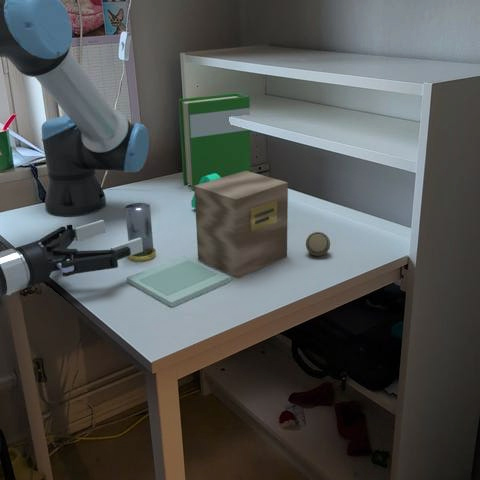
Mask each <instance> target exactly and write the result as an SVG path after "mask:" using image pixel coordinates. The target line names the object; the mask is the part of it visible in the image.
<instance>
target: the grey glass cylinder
mask: <svg viewBox="0 0 480 480" xmlns="http://www.w3.org/2000/svg"><path fill="white" fill-rule="evenodd" d="M124 212H125V213H124V214H125V221H126V231H127V242H128V241H131V240H133V239H136V238H139V237H140V238H142V246H143V252H140V253H137V254H134V255H131V256H128V257H127V258H128V260H130V261H131V262H135V263H142V262H143V263H144V262H148V261H151V260H153V259H155V258H156V257H157V251H156V249H155V247H154V239H153V228H152V225H153V224H152V215H151V205H150V204H149V203H147V202H133V203H130V204H127V205H125V208H124Z"/></svg>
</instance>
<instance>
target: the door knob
mask: <svg viewBox="0 0 480 480" xmlns="http://www.w3.org/2000/svg"><path fill="white" fill-rule="evenodd" d="M330 247H331V240H330V238H329V236H328V235H327V234H325V233H324V232H322V231H314V232H312V233H310V234H309V235H308V236H307V238H306V239H305V248H306V250H307V252H308V253H309V254H311V255H312V256H315V257H321V256H322V257H323V256H324V255H325V254H327V253H328V252H329V250H330Z"/></svg>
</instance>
